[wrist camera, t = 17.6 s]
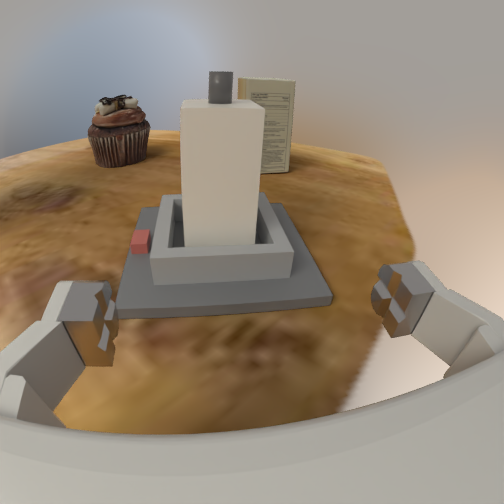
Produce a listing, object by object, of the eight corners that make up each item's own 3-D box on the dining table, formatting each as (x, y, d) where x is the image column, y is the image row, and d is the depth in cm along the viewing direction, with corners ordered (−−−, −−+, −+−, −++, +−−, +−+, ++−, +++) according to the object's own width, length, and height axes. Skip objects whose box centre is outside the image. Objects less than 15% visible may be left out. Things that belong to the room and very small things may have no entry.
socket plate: (142, 215, 27) (139, 187, 25) (280, 210, 29) (283, 183, 28) (117, 318, 16) (106, 282, 15) (330, 305, 19) (340, 269, 17)
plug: (186, 227, 24) (184, 71, 17) (242, 225, 25) (251, 72, 18) (186, 264, 20) (180, 72, 13) (253, 261, 21) (267, 73, 14)
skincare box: (277, 163, 42) (284, 78, 35) (289, 173, 39) (298, 80, 32) (232, 164, 40) (237, 75, 33) (241, 175, 37) (246, 76, 30)
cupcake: (163, 158, 42) (162, 91, 37) (103, 175, 36) (96, 101, 30) (135, 147, 47) (133, 91, 42) (83, 162, 41) (77, 101, 36)
